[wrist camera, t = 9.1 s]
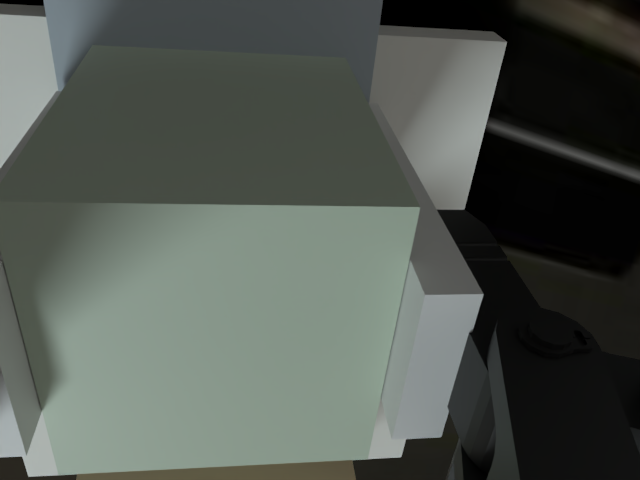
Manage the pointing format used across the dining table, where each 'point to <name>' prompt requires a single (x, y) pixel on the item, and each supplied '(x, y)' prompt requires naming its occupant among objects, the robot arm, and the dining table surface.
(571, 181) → the dining table surface
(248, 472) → the oak base
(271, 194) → the sage block
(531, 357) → the robot arm
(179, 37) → the board
